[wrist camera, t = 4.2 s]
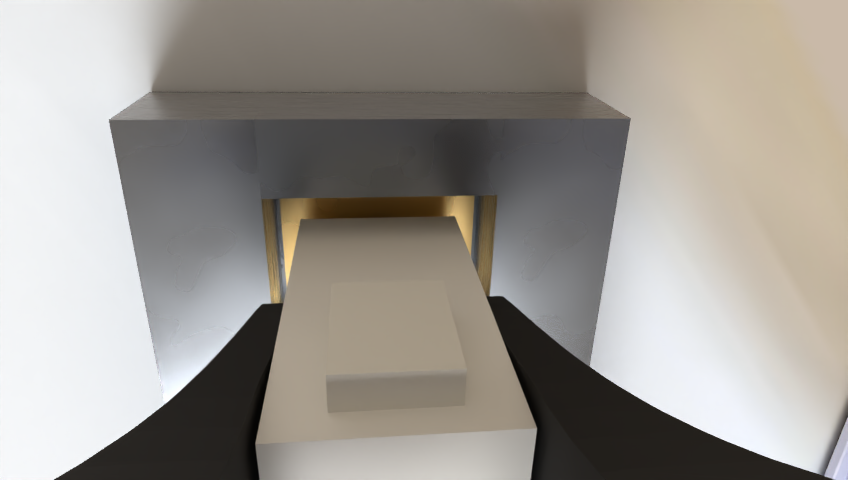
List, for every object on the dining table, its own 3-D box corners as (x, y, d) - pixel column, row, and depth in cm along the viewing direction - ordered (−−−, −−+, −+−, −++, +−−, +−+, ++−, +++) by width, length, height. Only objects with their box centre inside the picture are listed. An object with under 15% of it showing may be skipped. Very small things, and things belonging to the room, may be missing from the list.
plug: (456, 191, 14) (542, 390, 8) (449, 343, 16) (514, 609, 9) (299, 194, 13) (250, 405, 7) (309, 349, 15) (277, 628, 9)
